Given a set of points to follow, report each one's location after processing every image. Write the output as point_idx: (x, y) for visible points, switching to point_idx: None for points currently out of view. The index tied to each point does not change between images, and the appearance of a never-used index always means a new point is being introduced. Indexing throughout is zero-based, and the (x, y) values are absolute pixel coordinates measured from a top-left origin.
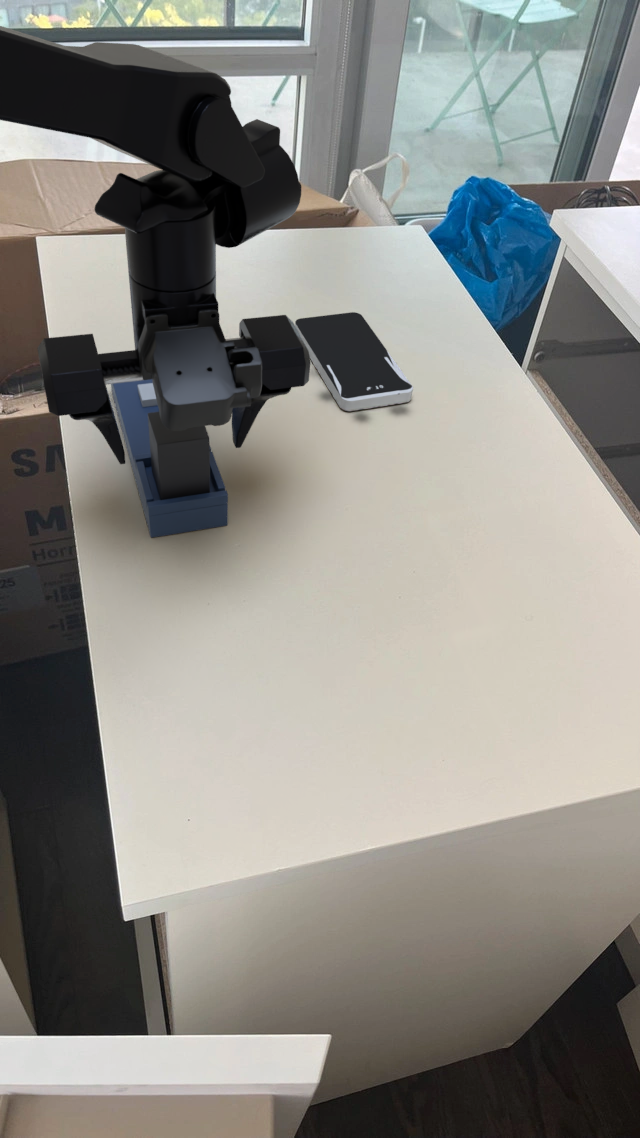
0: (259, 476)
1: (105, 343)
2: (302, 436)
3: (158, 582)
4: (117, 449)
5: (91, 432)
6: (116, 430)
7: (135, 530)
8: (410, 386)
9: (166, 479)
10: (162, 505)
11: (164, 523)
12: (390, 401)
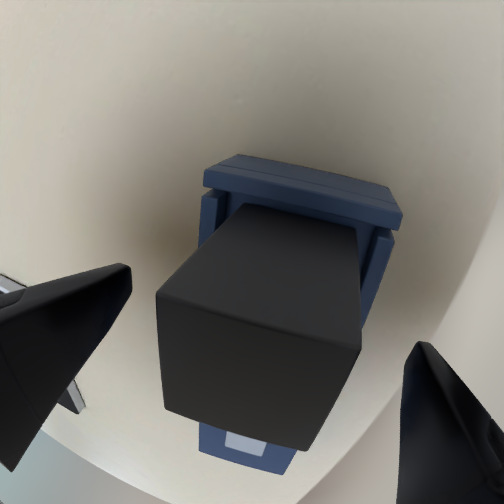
0: (149, 244)
1: (263, 482)
2: None
3: (418, 76)
4: (450, 379)
5: (348, 418)
6: (474, 441)
7: (403, 220)
8: None
9: (340, 255)
10: (369, 204)
11: (363, 188)
12: (7, 282)
